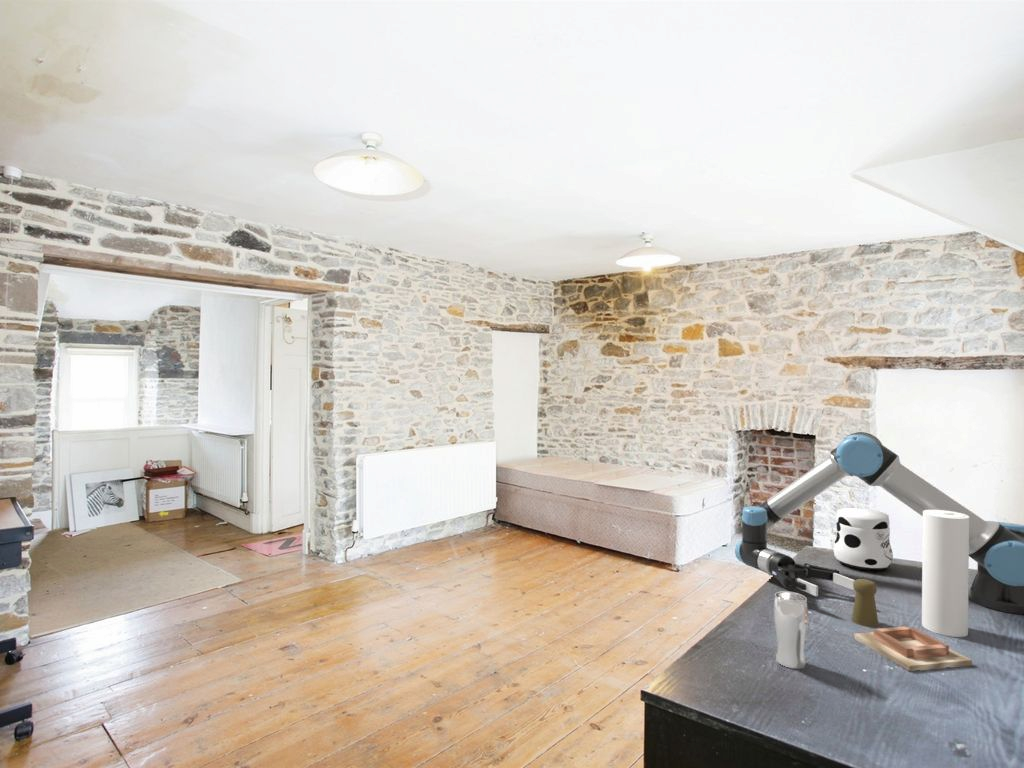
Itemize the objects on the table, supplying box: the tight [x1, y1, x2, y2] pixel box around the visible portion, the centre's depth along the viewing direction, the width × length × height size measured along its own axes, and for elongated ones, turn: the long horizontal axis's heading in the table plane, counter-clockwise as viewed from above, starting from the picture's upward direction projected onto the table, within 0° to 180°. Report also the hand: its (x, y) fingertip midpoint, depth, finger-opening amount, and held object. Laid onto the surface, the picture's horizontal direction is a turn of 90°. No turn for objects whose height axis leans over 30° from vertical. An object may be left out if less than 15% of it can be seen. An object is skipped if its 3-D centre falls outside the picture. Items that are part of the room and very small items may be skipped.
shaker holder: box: [853, 625, 973, 672], centre depth 133 cm, size 16×16×3 cm
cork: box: [851, 578, 879, 628], centre depth 149 cm, size 6×6×11 cm
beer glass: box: [773, 590, 809, 670], centre depth 128 cm, size 7×7×15 cm
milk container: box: [832, 507, 894, 571], centre depth 194 cm, size 17×17×18 cm
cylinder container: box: [921, 510, 970, 638], centre depth 145 cm, size 9×9×30 cm
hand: (835, 588), depth 157 cm, fingers open, 13 cm apart
